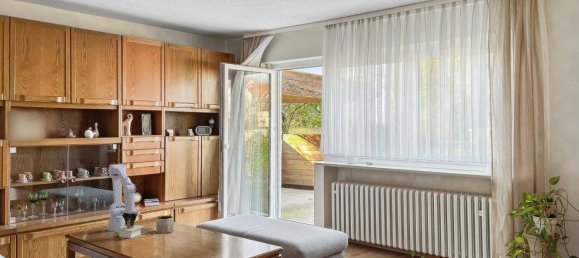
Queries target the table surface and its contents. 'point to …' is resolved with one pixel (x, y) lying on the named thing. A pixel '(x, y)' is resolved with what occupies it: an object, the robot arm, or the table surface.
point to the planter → (164, 224)
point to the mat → (145, 230)
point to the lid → (130, 227)
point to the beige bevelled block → (129, 234)
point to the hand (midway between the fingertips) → (129, 225)
